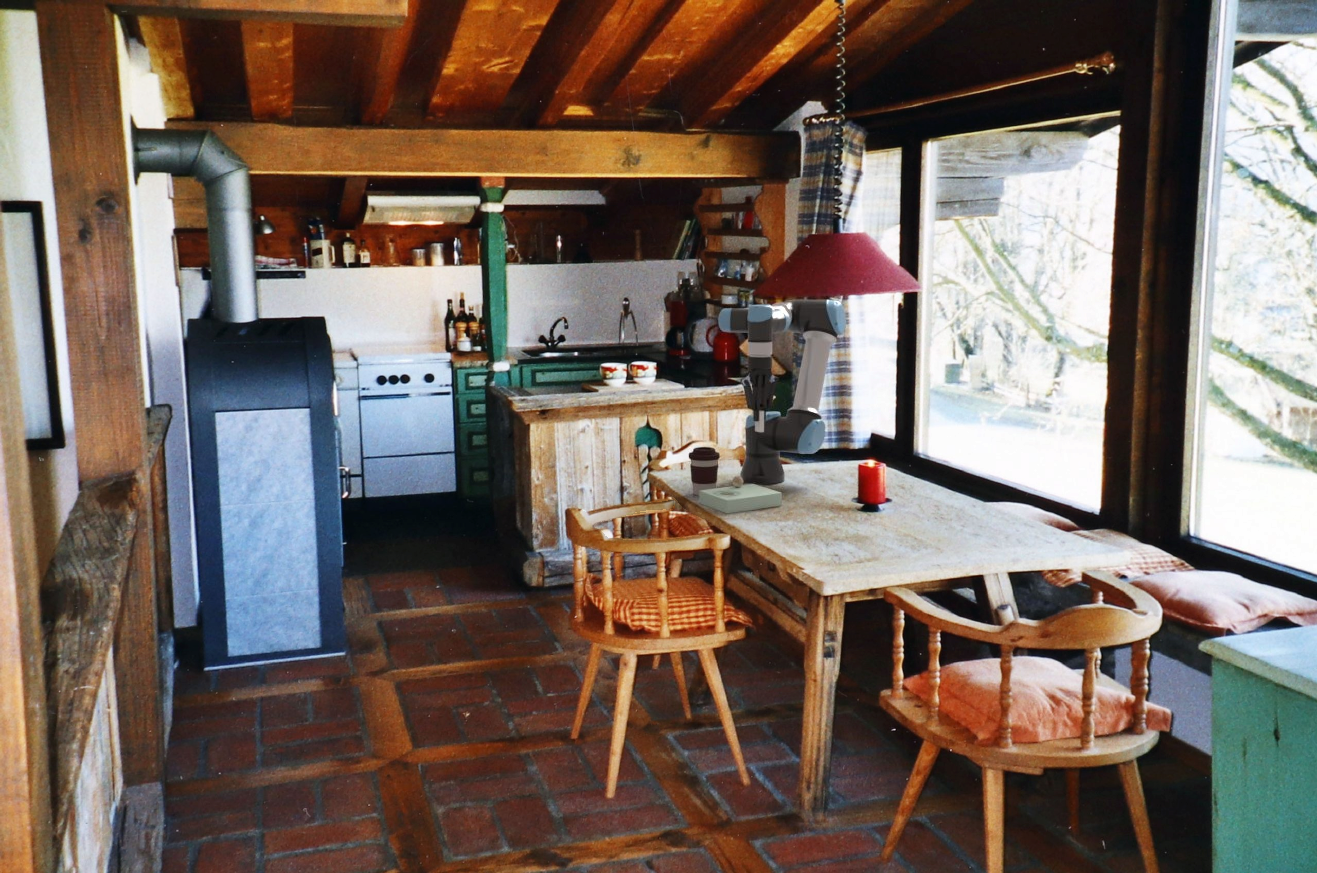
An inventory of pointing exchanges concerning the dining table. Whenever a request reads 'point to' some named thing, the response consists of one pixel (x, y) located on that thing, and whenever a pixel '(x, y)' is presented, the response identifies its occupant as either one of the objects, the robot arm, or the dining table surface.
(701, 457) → the coffee cup
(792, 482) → the dining table surface
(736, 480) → the beech ball
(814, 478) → the dining table surface
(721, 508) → the board
